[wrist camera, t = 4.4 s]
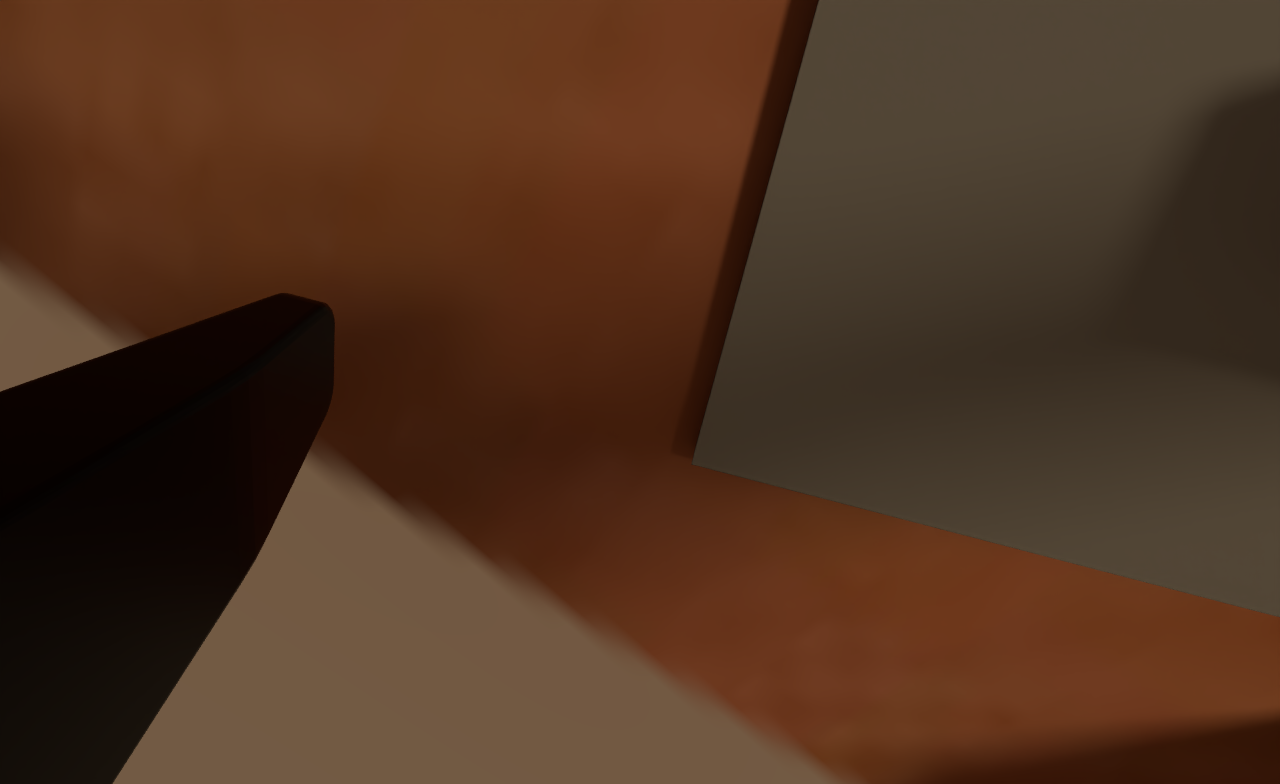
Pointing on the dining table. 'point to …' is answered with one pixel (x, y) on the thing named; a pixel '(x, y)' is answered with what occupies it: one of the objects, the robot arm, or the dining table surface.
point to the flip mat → (1026, 284)
